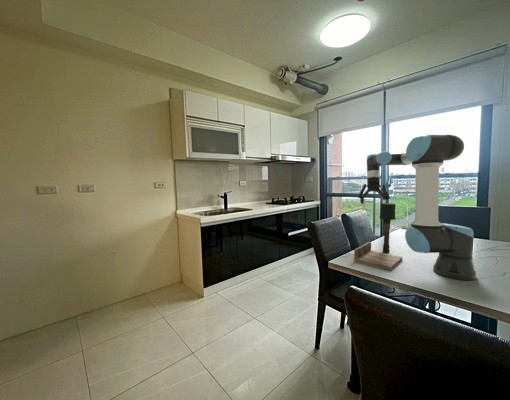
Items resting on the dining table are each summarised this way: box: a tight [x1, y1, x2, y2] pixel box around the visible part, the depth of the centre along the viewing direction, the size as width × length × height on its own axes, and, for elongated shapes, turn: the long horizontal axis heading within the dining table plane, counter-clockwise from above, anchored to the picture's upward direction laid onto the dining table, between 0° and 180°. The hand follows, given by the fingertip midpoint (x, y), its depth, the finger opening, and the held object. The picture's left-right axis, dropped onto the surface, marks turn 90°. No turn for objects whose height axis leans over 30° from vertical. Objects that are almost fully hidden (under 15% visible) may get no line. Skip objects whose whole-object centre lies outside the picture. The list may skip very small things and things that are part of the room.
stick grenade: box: [379, 202, 397, 254], centre depth 137 cm, size 8×9×30 cm
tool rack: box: [353, 241, 403, 272], centre depth 124 cm, size 20×18×7 cm
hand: (374, 209), depth 150 cm, fingers open, 13 cm apart
